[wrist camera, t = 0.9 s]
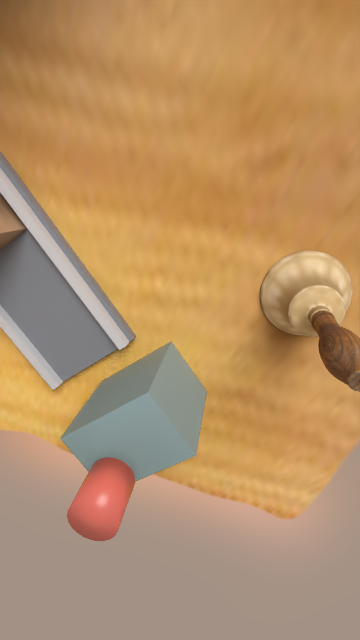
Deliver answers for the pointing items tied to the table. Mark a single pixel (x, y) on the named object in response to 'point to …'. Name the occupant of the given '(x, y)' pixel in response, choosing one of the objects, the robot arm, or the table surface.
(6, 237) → the tan rectangular block
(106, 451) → the cabinet
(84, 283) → the track
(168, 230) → the table surface
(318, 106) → the table surface
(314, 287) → the hand bell
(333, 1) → the table surface
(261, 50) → the table surface
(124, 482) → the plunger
